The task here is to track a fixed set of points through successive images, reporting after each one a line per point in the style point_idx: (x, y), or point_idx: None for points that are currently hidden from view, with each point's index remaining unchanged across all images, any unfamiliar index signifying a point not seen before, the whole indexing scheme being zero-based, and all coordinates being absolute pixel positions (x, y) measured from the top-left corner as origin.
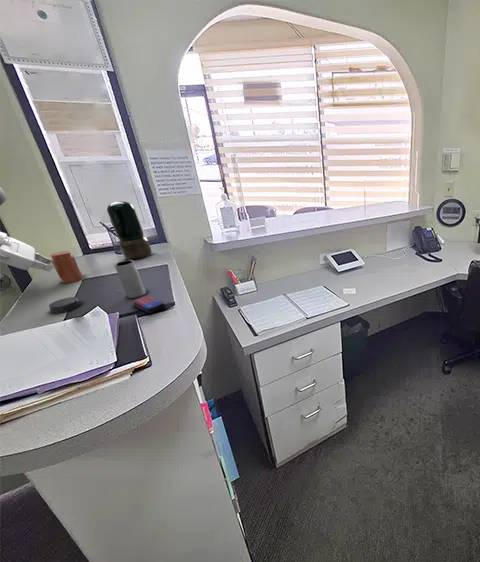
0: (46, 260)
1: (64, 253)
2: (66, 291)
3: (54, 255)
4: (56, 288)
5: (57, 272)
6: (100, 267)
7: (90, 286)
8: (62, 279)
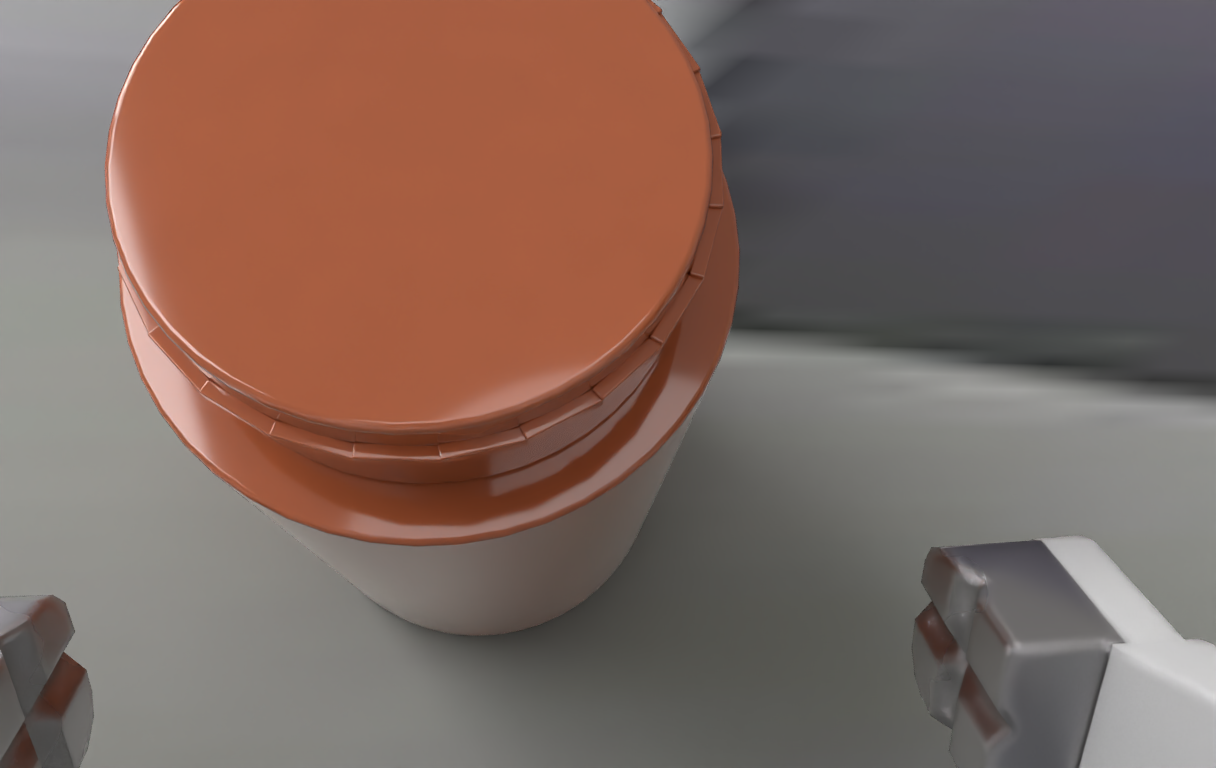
0: (12, 724)
1: (640, 26)
2: (1169, 561)
3: (657, 301)
4: (839, 719)
5: (542, 591)
6: (66, 52)
7: (1161, 248)
8: (589, 587)
